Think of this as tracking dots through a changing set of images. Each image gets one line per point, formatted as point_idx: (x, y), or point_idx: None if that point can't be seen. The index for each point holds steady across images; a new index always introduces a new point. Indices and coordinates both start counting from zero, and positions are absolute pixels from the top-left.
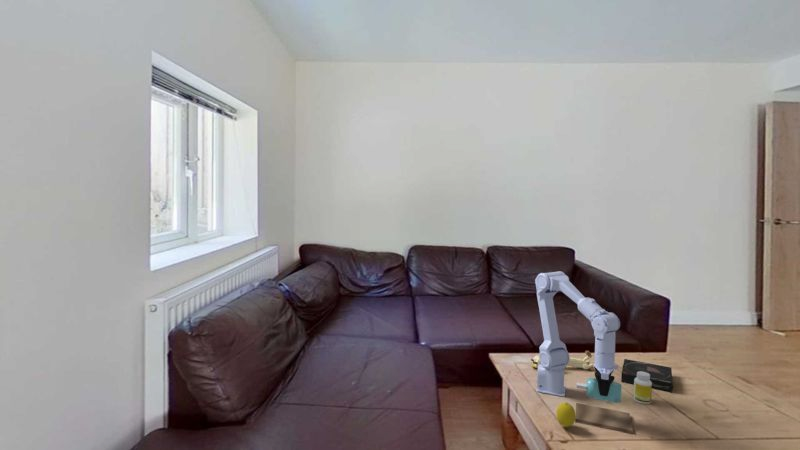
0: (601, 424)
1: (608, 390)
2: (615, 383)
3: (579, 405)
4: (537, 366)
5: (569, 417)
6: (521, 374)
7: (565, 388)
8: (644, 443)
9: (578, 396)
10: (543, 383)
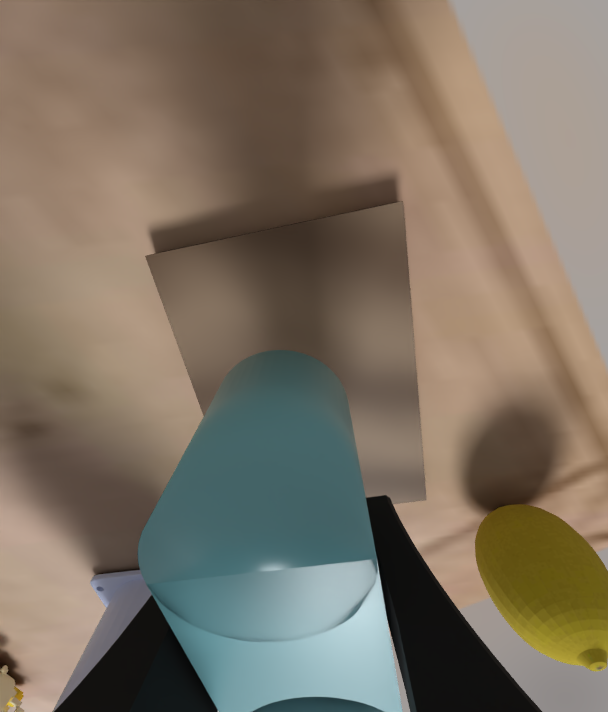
0: (417, 385)
1: (422, 562)
2: (206, 562)
3: None
4: (11, 696)
5: (603, 564)
6: None
7: (107, 574)
8: (493, 103)
9: (134, 516)
10: None
